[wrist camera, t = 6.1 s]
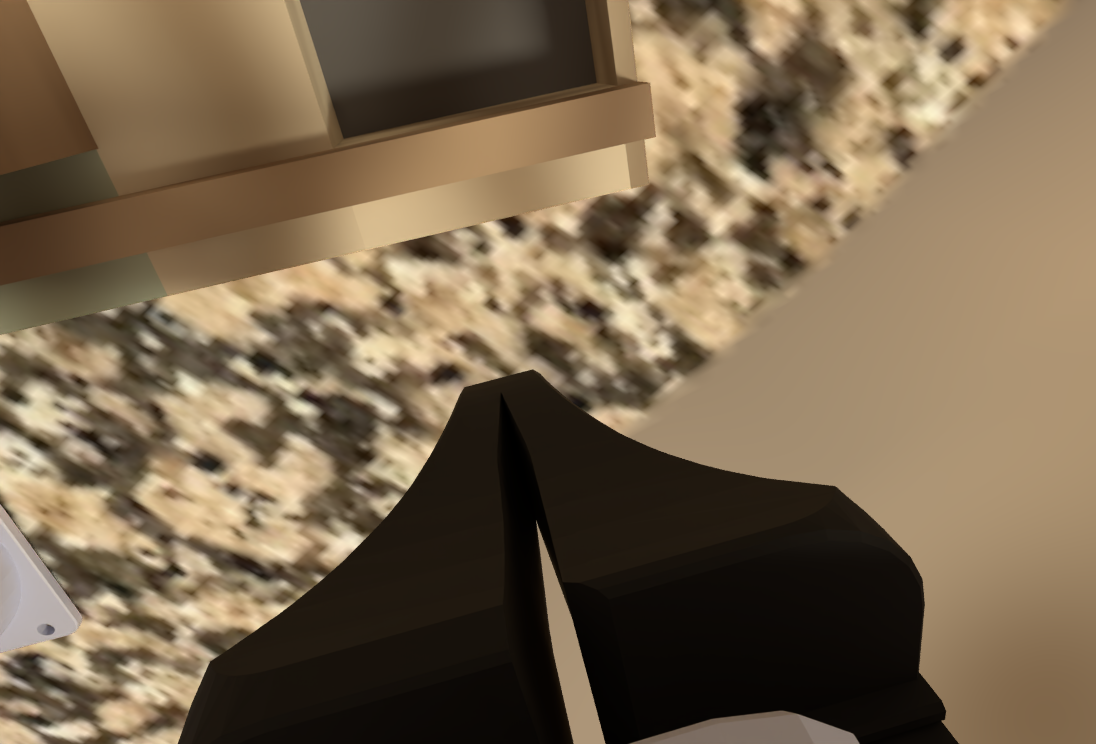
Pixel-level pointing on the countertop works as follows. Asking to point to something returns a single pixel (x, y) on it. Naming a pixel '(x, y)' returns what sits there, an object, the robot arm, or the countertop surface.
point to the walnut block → (34, 97)
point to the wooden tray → (307, 136)
